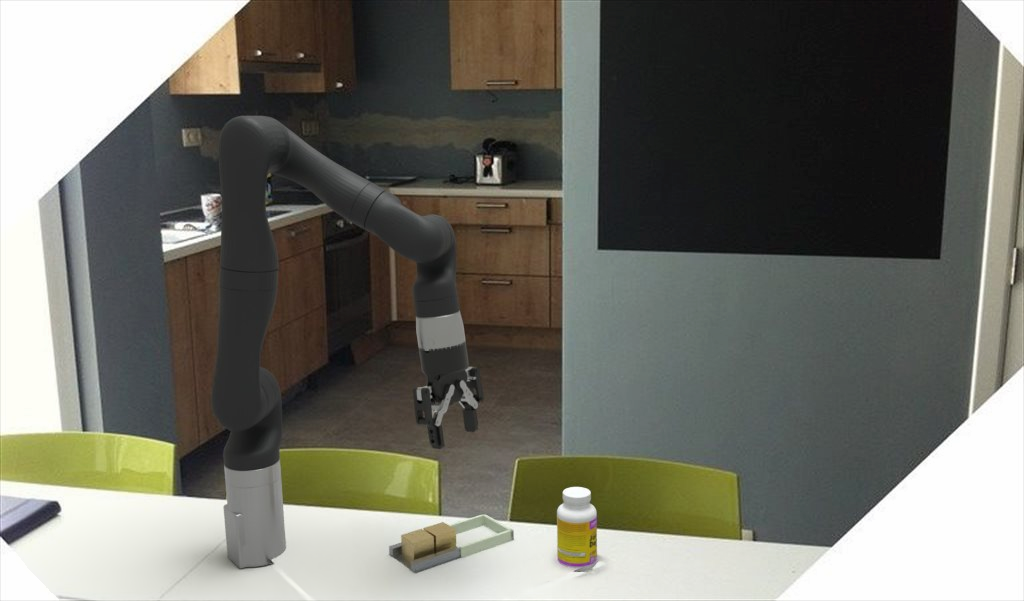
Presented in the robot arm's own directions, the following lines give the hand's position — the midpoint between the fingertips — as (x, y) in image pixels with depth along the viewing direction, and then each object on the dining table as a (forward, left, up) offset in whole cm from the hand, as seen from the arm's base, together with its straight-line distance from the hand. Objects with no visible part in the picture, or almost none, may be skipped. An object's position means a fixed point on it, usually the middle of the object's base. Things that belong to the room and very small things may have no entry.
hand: (455, 439), depth 153 cm
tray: (+8, +7, -23) cm, 26 cm away
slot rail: (-2, +7, -23) cm, 24 cm away
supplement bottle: (+17, -10, -24) cm, 31 cm away
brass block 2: (+1, +7, -22) cm, 23 cm away
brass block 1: (-4, +7, -22) cm, 24 cm away
